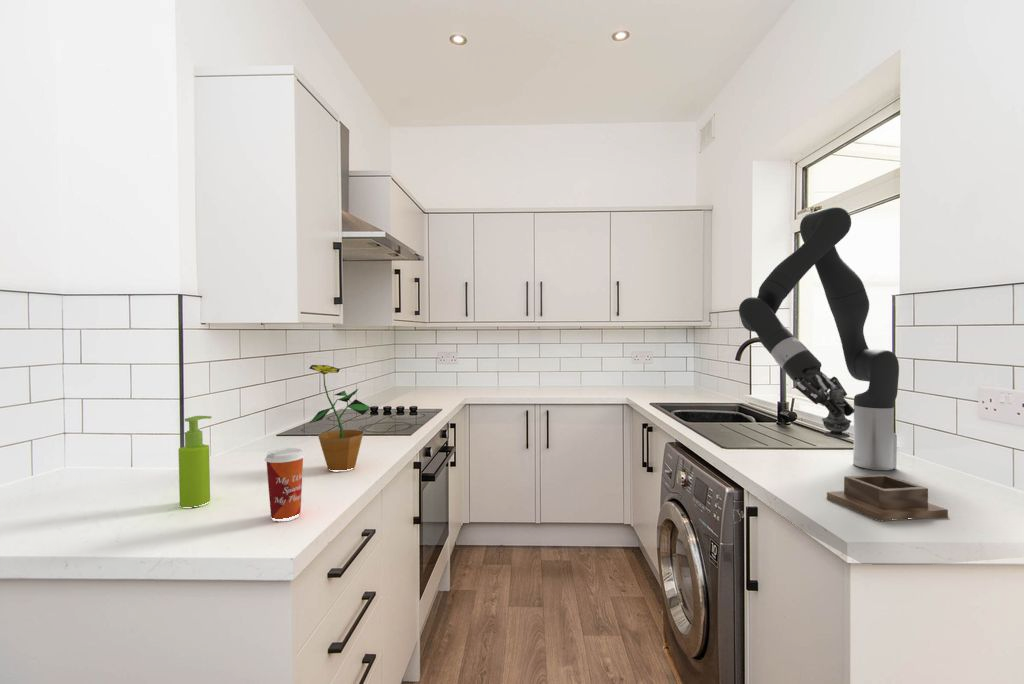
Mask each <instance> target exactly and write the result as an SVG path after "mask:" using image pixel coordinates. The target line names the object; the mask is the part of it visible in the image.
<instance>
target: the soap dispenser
mask: <svg viewBox="0 0 1024 684" xmlns="http://www.w3.org/2000/svg"><path fill="white" fill-rule="evenodd" d="M204 419H205V420H206V419H212V416H211V415H193V416H191V417H190V416H189V417H186V418H184V422H186V423H188V430H187V431H186V432H184V446H181V447H180V448H178V484H179V485H178V487H179V507H180V506H181V507H194V506H199V505H202V504H205V503H207V502H209V501H210V502H211V483H210V482H211V478H210V477H211V475H210V472H211V471H210V470H211V469H210V468H211V467H210V445H209V444H204V443H203V441H204V440H203V430H200V429H199V423H198V422H199V420H204Z"/></svg>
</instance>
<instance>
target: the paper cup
mask: <svg viewBox="0 0 1024 684" xmlns="http://www.w3.org/2000/svg"><path fill="white" fill-rule="evenodd" d="M305 456H306V455H305V454H304V453H303V451H302V449H301V448H298V447H297V448H296V447H287V448H285V447H284V448H279V449H274V450H271V451H268V452H267V453H266V457H265V458H264V461H265V462H266V473H267V485H268V497H269V498H268V499H269V506H270V507H269V508H270V509H269V510H270V517H272V518H275V519H283V518H289V517H292V516H295V515H297V514H299V513H300V514H301V510H302V509H301V507H302V491H303V490H302V489H303V465H304V458H305Z"/></svg>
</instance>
